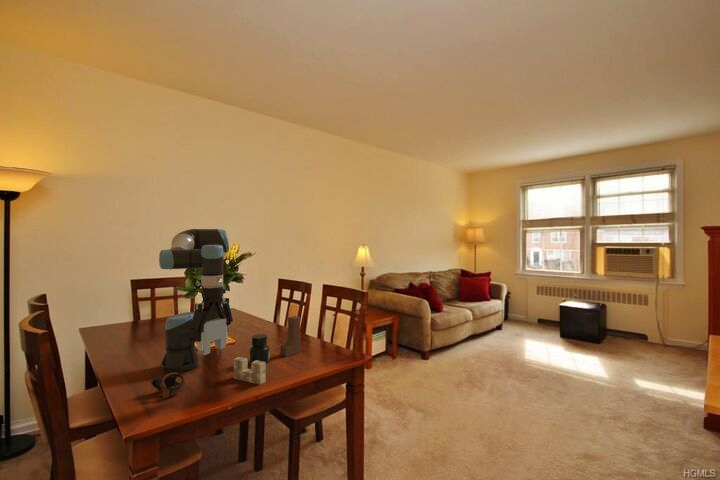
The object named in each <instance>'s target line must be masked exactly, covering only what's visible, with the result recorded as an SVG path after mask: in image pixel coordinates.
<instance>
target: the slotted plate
mask: <svg viewBox="0 0 720 480" xmlns="http://www.w3.org/2000/svg"><path fill="white" fill-rule="evenodd" d="M202 332H204V350H203V351H201V350H198V355H203V356H206V355H209V354H211V343H212V342H214V348H215V349H219V350H222V349H225V348H226V347H227V342H226V319H222V318H218V319H214V320H210V321H207V322H206V323H205V324H204V328H203V330H202Z"/></svg>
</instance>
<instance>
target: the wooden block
mask: <svg viewBox="0 0 720 480" xmlns="http://www.w3.org/2000/svg"><path fill="white" fill-rule="evenodd" d="M279 350H280V351H279V352H280V353H279V354H280V356H283V357H285V358H286V357H289V356H290V357H291V356H294V355H297V354H300V353H301V317H300V316H297V315H293V316H288V318H287V339H286V342H285V343H284V344H282V345H280V348H279Z"/></svg>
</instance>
